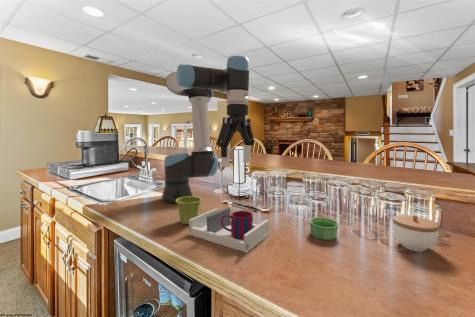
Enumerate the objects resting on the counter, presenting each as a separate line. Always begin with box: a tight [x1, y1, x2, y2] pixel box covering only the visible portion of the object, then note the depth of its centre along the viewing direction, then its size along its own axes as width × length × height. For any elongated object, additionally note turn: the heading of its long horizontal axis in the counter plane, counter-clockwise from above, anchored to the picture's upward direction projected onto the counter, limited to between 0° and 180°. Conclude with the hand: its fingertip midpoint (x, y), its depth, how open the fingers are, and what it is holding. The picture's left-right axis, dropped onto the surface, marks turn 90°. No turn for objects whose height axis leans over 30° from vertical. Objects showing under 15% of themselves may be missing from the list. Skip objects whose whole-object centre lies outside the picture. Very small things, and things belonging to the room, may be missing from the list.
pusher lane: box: [188, 208, 270, 254], centre depth 76 cm, size 22×14×5 cm, turn 57°
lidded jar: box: [392, 214, 440, 253], centre depth 68 cm, size 11×11×9 cm
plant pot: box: [176, 196, 203, 225], centre depth 87 cm, size 9×9×9 cm
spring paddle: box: [207, 206, 231, 233], centre depth 78 cm, size 1×11×6 cm, turn 147°
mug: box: [221, 210, 254, 240], centre depth 73 cm, size 7×10×7 cm
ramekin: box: [309, 216, 340, 241], centre depth 76 cm, size 9×9×4 cm
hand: (236, 164), depth 83 cm, fingers open, 13 cm apart
